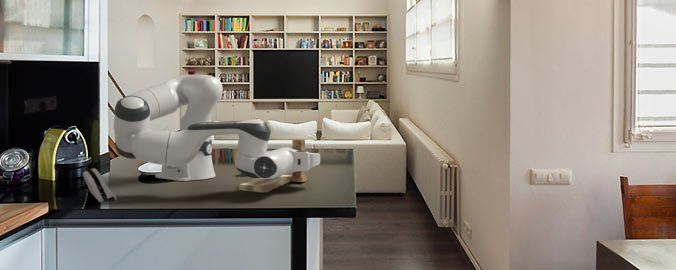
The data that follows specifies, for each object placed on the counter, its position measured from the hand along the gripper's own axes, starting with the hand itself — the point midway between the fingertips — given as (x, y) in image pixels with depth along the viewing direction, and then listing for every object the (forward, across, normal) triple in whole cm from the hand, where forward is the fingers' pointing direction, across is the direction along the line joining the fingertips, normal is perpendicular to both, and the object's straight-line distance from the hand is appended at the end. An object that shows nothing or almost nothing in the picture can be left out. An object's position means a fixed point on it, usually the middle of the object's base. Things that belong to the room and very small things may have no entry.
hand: (299, 155), depth 187 cm
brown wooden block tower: (-1, 0, -9) cm, 9 cm away
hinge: (-44, -51, -10) cm, 68 cm away
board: (-10, -8, -10) cm, 16 cm away
